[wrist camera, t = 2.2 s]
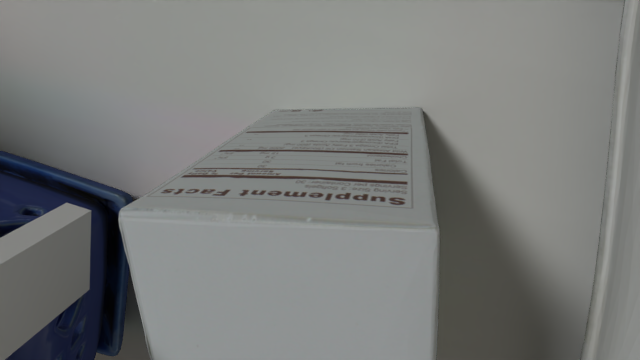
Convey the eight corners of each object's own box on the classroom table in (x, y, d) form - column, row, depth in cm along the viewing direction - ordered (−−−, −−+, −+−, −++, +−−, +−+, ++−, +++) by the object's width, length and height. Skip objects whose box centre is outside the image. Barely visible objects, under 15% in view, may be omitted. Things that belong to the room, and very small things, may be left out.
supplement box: (421, 246, 22) (431, 497, 11) (281, 238, 24) (158, 452, 12) (427, 102, 20) (451, 229, 8) (270, 103, 21) (101, 211, 10)
